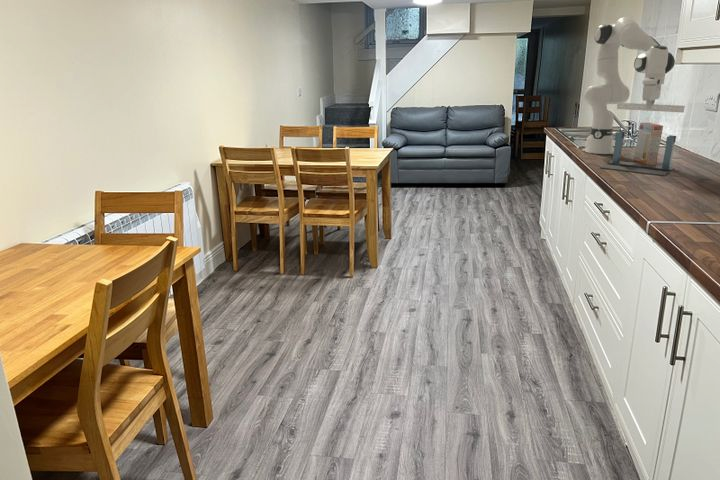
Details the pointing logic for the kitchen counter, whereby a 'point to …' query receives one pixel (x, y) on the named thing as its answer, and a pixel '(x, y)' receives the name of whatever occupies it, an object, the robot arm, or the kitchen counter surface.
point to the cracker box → (648, 143)
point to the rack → (616, 161)
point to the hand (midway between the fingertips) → (649, 109)
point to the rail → (653, 107)
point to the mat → (634, 170)
